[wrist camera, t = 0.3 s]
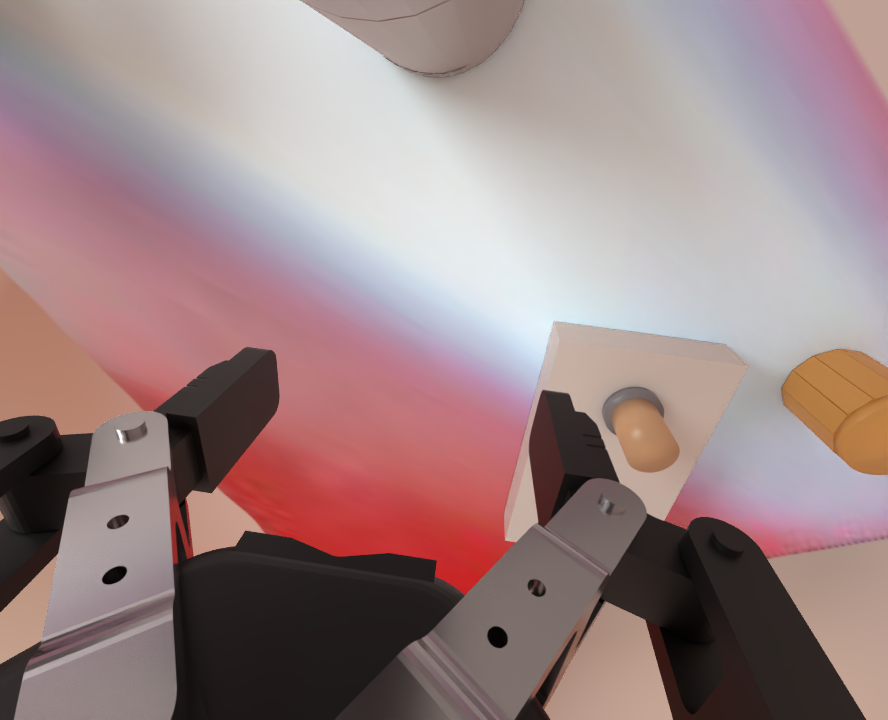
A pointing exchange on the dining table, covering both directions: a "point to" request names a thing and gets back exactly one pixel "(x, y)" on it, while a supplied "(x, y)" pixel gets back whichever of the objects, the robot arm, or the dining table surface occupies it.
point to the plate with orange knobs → (633, 408)
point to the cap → (844, 406)
